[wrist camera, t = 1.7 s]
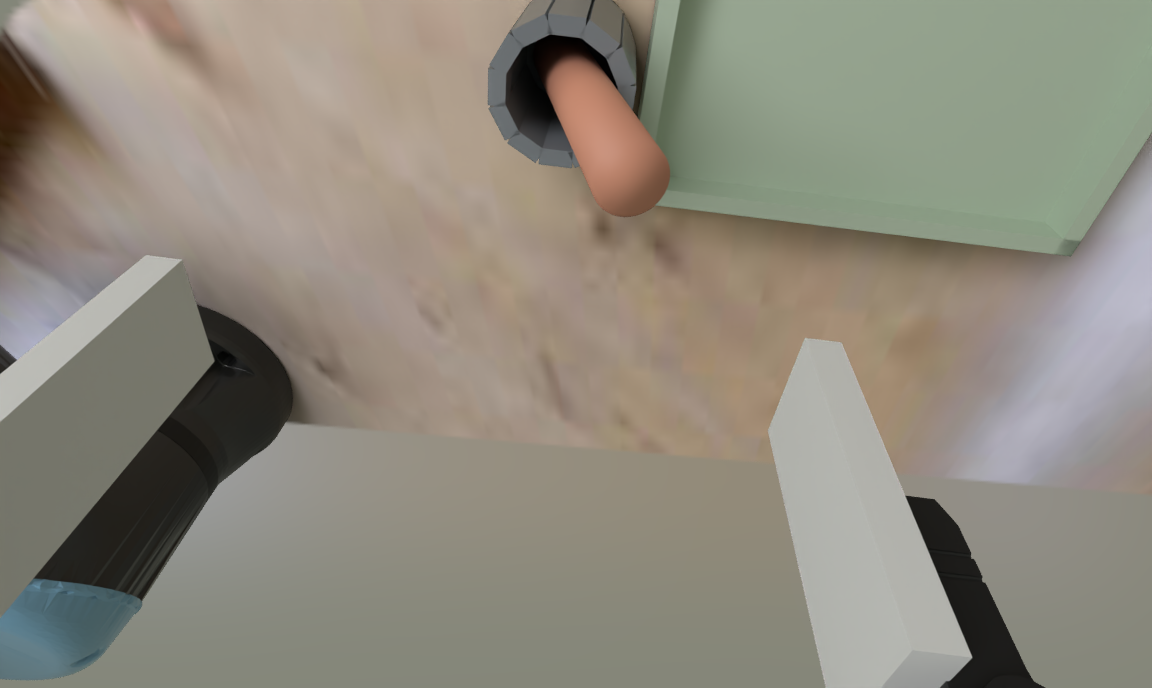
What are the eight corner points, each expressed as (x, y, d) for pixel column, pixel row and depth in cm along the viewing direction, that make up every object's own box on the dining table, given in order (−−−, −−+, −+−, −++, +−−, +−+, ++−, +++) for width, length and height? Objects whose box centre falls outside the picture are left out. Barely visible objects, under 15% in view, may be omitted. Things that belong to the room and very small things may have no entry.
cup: (511, 106, 37) (487, 157, 31) (516, -23, 33) (489, 5, 27) (624, 120, 37) (623, 174, 31) (643, -8, 33) (645, 25, 27)
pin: (532, 78, 36) (493, 206, 23) (535, 22, 34) (495, 128, 21) (641, 90, 36) (663, 224, 23) (649, 35, 34) (679, 147, 21)
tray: (627, 181, 40) (627, 201, 37) (686, -200, 29) (691, -204, 26) (1045, 233, 40) (1070, 256, 37) (1264, -127, 29) (1319, -126, 26)
